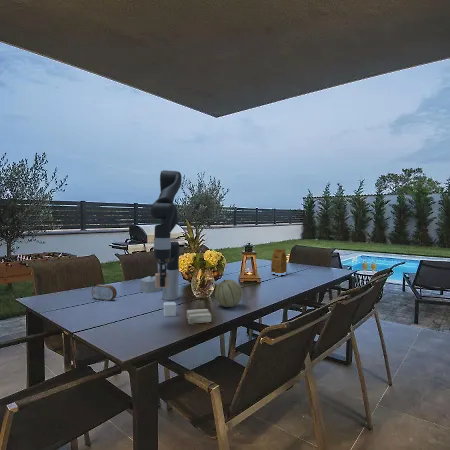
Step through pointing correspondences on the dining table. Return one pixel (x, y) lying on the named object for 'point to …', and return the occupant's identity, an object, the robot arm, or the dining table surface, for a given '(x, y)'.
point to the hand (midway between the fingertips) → (161, 285)
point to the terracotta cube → (157, 280)
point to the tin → (104, 292)
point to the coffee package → (279, 261)
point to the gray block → (198, 316)
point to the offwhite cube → (169, 309)
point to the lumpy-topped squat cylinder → (149, 285)
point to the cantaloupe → (228, 293)
